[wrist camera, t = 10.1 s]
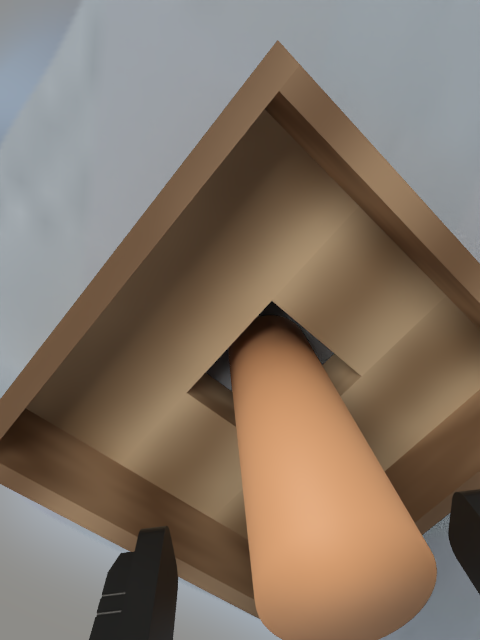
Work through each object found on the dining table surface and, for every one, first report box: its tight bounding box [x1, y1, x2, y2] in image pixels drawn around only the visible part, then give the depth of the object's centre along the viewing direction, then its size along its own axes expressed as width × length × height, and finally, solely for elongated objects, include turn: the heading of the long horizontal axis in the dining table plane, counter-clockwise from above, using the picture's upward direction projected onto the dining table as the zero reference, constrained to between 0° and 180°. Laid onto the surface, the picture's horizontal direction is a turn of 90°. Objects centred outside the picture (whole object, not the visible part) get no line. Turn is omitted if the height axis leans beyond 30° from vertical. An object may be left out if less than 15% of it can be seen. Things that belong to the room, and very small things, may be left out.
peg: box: [229, 315, 437, 640], centre depth 14 cm, size 4×4×12 cm
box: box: [0, 40, 480, 619], centre depth 17 cm, size 17×17×6 cm
